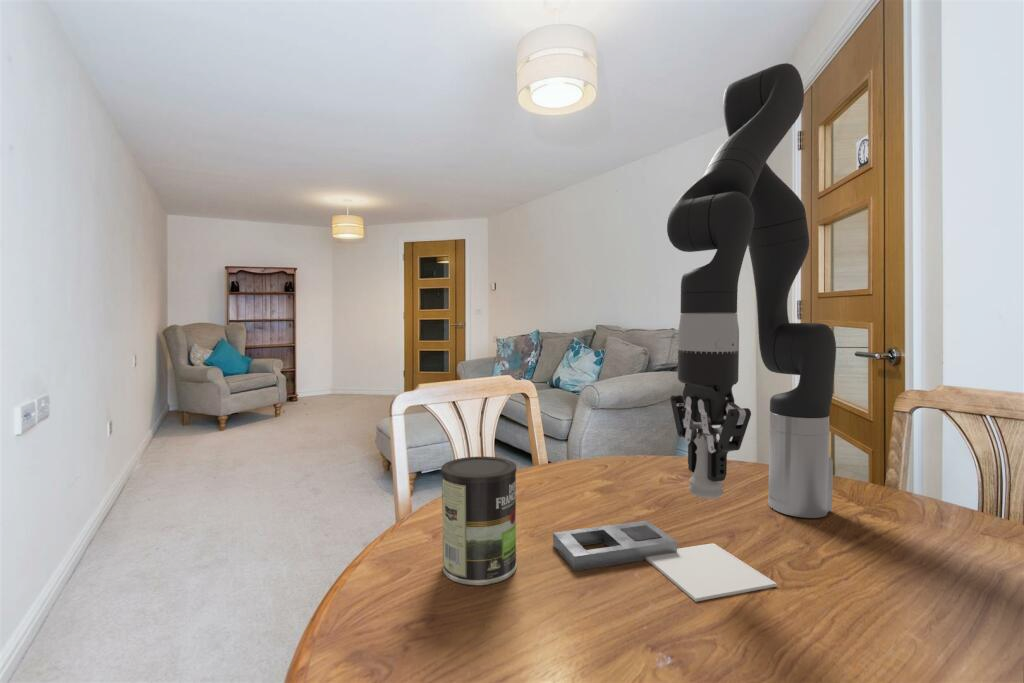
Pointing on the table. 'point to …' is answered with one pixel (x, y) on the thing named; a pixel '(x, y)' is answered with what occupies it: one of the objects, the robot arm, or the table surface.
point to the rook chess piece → (703, 472)
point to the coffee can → (479, 520)
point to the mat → (709, 572)
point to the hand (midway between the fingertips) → (706, 475)
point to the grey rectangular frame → (613, 544)
